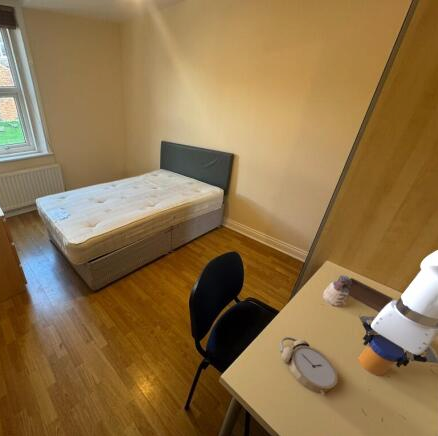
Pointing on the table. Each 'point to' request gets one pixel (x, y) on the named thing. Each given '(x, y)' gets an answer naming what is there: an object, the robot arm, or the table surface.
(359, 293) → the tray
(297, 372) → the alarm clock
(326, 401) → the table surface
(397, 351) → the lid
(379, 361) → the jar
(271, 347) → the table surface
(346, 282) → the figurine
